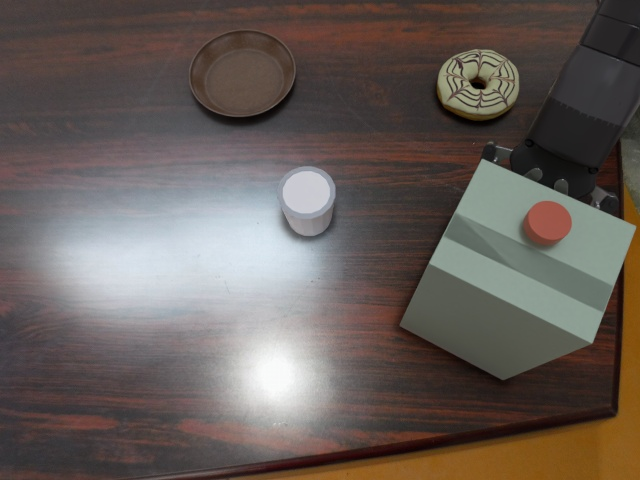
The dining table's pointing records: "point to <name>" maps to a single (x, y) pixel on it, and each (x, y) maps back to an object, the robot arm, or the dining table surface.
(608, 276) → the box with red button
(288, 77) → the saucer
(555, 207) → the brew button
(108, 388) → the dining table surface
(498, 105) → the decorated donut
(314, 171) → the white short cylinder
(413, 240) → the dining table surface
